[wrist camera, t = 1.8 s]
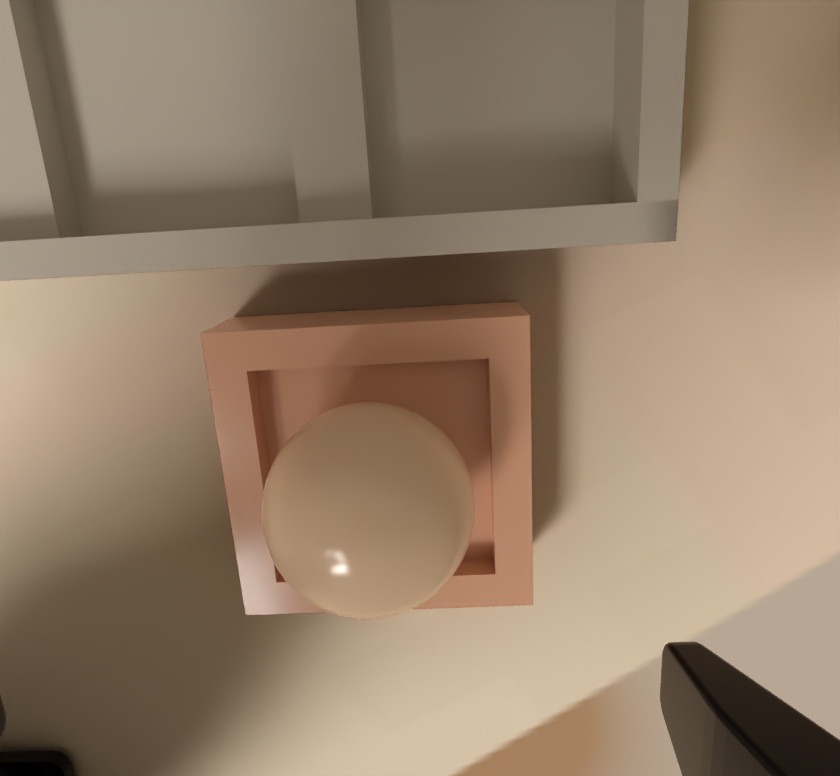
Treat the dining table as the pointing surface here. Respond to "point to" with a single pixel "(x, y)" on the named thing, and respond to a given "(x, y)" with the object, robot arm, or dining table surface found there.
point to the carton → (332, 130)
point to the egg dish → (393, 384)
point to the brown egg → (368, 510)
